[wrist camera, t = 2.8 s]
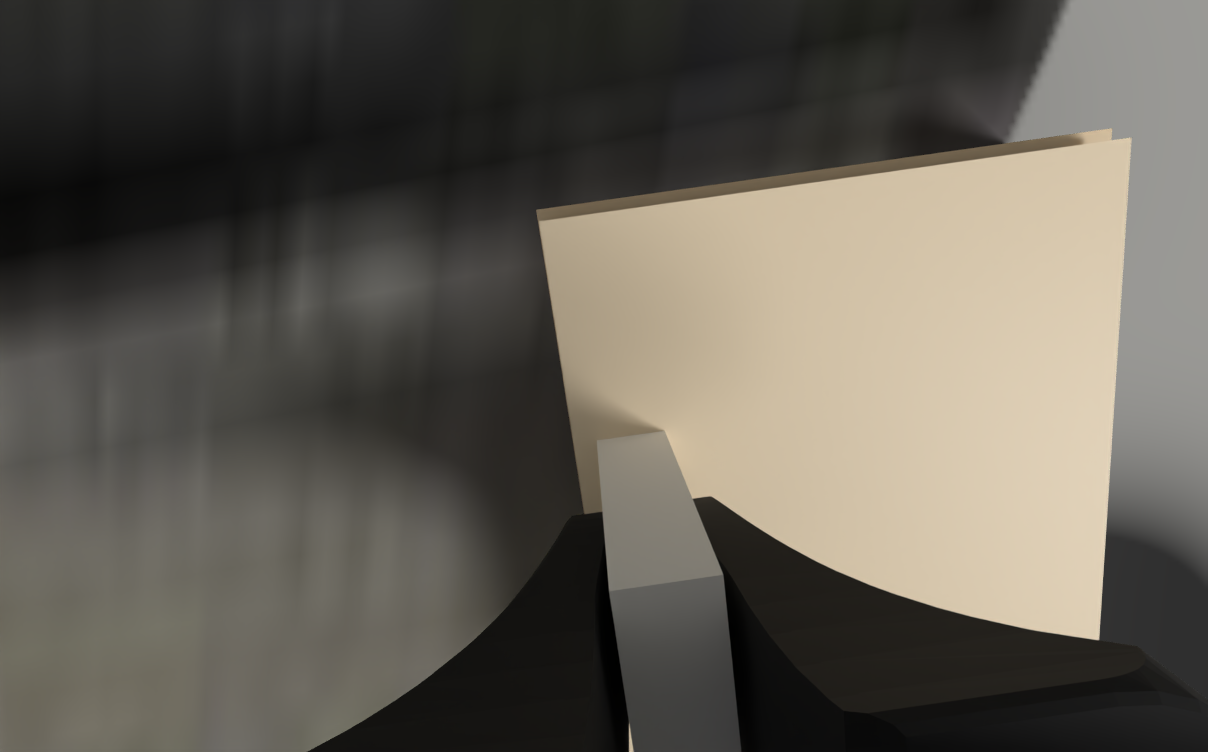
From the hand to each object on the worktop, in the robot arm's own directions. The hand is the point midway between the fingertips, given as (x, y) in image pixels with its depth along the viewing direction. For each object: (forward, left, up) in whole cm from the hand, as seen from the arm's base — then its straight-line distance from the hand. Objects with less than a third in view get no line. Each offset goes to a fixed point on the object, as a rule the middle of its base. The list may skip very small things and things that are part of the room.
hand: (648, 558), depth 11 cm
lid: (0, -4, -1) cm, 4 cm away
